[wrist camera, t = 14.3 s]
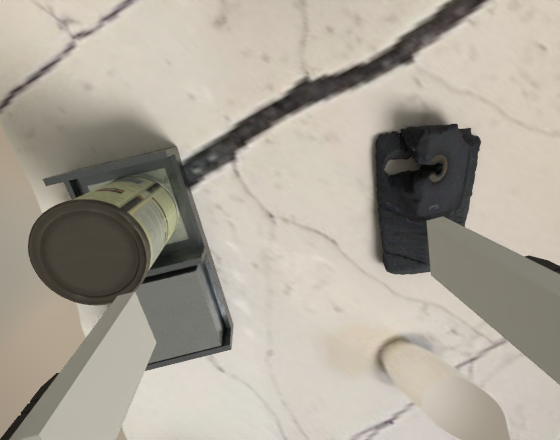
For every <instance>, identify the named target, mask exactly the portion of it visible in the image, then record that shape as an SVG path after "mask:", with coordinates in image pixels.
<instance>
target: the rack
mask: <svg viewBox="0 0 560 440" xmlns="http://www.w3.org/2000/svg"><path fill="white" fill-rule="evenodd" d="M127 175H143V176H147V177H151V178H153V179H155V180H157V181H159V182H160V183H162V184H163V185H164V186H165V187H167V189H168V190H169V191H170V192H171V193H172V195H173V196H174V198H175V200H176V202H177V205H178V209H179V221H178V226H177V228H176V230H175V232H174V234H173V235H172V236H171V237H170V239H169V240H168V242H167V243H166V245H165V246H164V248H163V249H162V251H161V253H160V254H159V255H158V257H157V259H156V260H155V262H154V263H153V265H152V266H151V268H150V269H149V271H148V273H147V275H146V277H145V279H144V281H143V283H142V284H141V285H140V287H139V288H138V289H137V290H136V291H135V292H136V295H137V297H138V300H139V302H140V304H141V307H142V309H143V312H144V314H145V316H146V319H147V321H148V324H149V326H150V328H151V331H152V333H153V336H154V338H155V340H156V345H155V348H154V350H153V352H152V355H151V357H150V359H149V362H148V364H147V367H146V369H145V371H147V370H151V369H155V368H159V367H163V366H167V365H171V364H175V363H179V362H183V361H187V360H191V359H195V358H199V357H203V356H207V355H211V354H215V353H219V352H223V351H227V350H231V347H232V335H233V322H232V319H231V316H230V313H229V309H228V306H227V303H226V300H225V297H224V294H223V291H222V287H221V284H220V281H219V278H218V275H217V272H216V269H215V265H214V262H213V259H212V256H211V253H210V250H209V247H208V243H207V240H206V237H205V234H204V231H203V228H202V225H201V221H200V218H199V215H198V212H197V209H196V206H195V203H194V200H193V196H192V193H191V190H190V187H189V184H188V181H187V178H186V174H185V171H184V168H183V165H182V162H181V159H180V156H179V152H178V149H177V146H176V147H172V148H167V149H163V150H159V151H155V152H150V153H146V154H142V155H138V156H133V157H129V158H125V159H121V160H116V161H112V162H108V163H104V164H99V165H95V166H91V167H87V168H83V169H78V170H74V171H70V172H66V173H63V174H59V175H56V176H52V177H49V178H45V179H43V181H44V183H45V185H46V186H48V185H52V184H57V183H61V182H64V183H65V185H66V188H67V190H68V192H69V194H70V197H71V199H72V200H73V199H75V198H77V197H80V196H81V195H84V194H86V193H88V192H90V191H93V190H95V189H97V188H99V187H101V186H104V185H106V184H108V183H110V182H112V181H114V180H115V179H117V178H120V177H123V176H127ZM111 304H112V303H111ZM111 304H107V306H108V308H109V307H110V305H111Z"/></svg>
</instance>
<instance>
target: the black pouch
mask: <svg viewBox="0 0 560 440" xmlns="http://www.w3.org/2000/svg"><path fill="white" fill-rule="evenodd" d="M399 135H400V137H399ZM401 135H402V136H401ZM480 144H481V140H480V138H479V137H478V136H476V137H474V136H473V135H472V134H471V128H466V129H458V125H457V124H451V125H436V126H420V127H408V128H407V129H401V133H400V134H399V133H398V132H395V131H394V132H392V133H386V134H384V135H383V134H381V135H380V136H379V138H378V140H377V141H376V150H377V151H376V161H377V188H378V190H377V194H378V198H379V199H378V203H379V213H380V219H379V220H380V226H381V229H382V231H381V236H382V244H383V250H384V254H383V262H384V265H385V269H386V271H387V272H390V273H392V274H401V275H404V274H417V273H424V272H431V270H430V257H429V245H428V233H427V220H431V219H435V218H439V217H445V218H447V219H449V220H451V221H453V222H455V223H457V224H459V225H461V226H463V227H465V221H466V218H467V214H468V211H469V205H470V197H471V196H472V188H473V184H474V179H475V171H476V167H477V159H478V152H479V147H480ZM411 157H412V158H414V159H415V162H416V163H417V164H422V165H421V167H420V170H417V171H415V172H411V171H405V172H401V173H398V174H395V175H390V176H389V175H388V174H386V173H385V171H384V168H385V166H386V164H387V162H388V161H389V160H391V159H394V160H395V159H406V160H407V159H409V158H411Z"/></svg>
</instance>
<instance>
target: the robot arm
mask: <svg viewBox="0 0 560 440" xmlns="http://www.w3.org/2000/svg"><path fill="white" fill-rule="evenodd" d="M427 233H428V245H429V257H430V270H431V276H433V277H434V278H435V279H436V280H437V281H438V282H440V283H441V284H442V285H443V286H444V287H446V288H447V289H448V290H449V291H450V292H451V293H453V294H454V295H455V296H456V297H457V298H458V299H460V300H461V301H462V302H463V303H464V304H465V305H467V306H468V307H469V308H470V309H471V310H472V311H474V312H475V313H476V314H477V315H478V316H480V317H481V318H482V319H483V320H484V321H485V322H487V323H488V324H489V325H490V326H491V327H492V328H494V329H495V330H496V331H497V332H498V333H499V334H501V335H502V336H503V337H504V338H505V339H506V340H508V341H509V342H510V343H511V344H512V345H514V346H515V347H516V348H517V349H518V350H519V351H521V352H522V353H523V354H524V355H525V356H526V357H528V358H529V359H530V360H531V361H532V362H533V363H535V364H536V365H537V366H538V367H539V368H540V369H542V370H543V371H544V372H545V373H546V374H548V375H549V376H550V377H551V378H552V379H553V380H555V381H556V382H557V383H558V384H559V385H560V266H558V265H556V264H554V263H552V262H550V261H548V260H544V259H540V258H536V257H532V256H525V257H524V256H522V255H520V254H518V253H516V252H514V251H512V250H510V249H508V248H506V247H504V246H502V245H500V244H498V243H496V242H494V241H492V240H490V239H488V238H486V237H483V236H481V235H479V234H477V233H475V232H473V231H471V230H469V229H467V228H465V227H463V226H461V225H459V224H457V223H455V222H453V221H451V220H449V219H447V218H445V217H439V218H435V219H431V220H427ZM155 345H156V340H155V338H154V336H153V333H152V331H151V328H150V326H149V324H148V321H147V319H146V316H145V314H144V312H143V309H142V307H141V304H140V302H139V300H138V297H137V295H136V292H131V293H127V294H123V295H119V296H117V297H116V299H115V300H114V301H113V303H112V304H111V305H110V307H109V308H108V309H107V311H106V312H105V313H104V315H103V316H102V317H101V319H100V320H99V321H98V323H97V324H96V325H95V327H94V328H93V329H92V331H91V332H90V333H89V335H88V336H87V337H86V338H85V340H84V341H83V343H82V344H81V345H80V346H79V348H78V349H77V350H76V352H75V353H74V355H73V356H72V357H71V358H70V360H69V361H68V362H67V364H66V365H65V366H64V368H63V369H62V370H61V372H60V373H56V374H55V375H54V376H53V377H52V378H51V379H50V380H49V381H47V382H46V383H45V384H44V385H43V386H42V387H41V388H40V389H39V391H38V392H37V393H36V394H35V395H34V397H33V398H32V399H31V401H30V403H29V404H27V406H26V407H25V408H24V410H23V411H22V412H21V415H20V416H18V417H17V418H16V420H15V421H14V422H13V423H12V425H11V426H10V427H9V429H8V430H7V431H6V432H5V434H4V435H3V436H2V437H1V439H0V440H116V438H117V435H118V433H119V431H120V428H121V426H122V424H123V421H124V419H125V417H126V414H127V412H128V409H129V407H130V405H131V402H132V400H133V398H134V395H135V393H136V390H137V388H138V386H139V383H140V381H141V378H142V376H143V374H144V371H145V369H146V367H147V364H148V362H149V359H150V357H151V355H152V352H153V350H154V348H155Z"/></svg>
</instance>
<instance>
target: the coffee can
mask: <svg viewBox="0 0 560 440" xmlns="http://www.w3.org/2000/svg"><path fill="white" fill-rule="evenodd" d="M178 221H179V209H178V205H177V202H176V200H175V198H174V196H173V195H172V193H171V192H170V191H169V190H168V189H167V187H165V186H164V185H163V184H162V183H160V182H159V181H157V180H155V179H153V178H151V177H147V176H143V175H127V176H123V177H120V178H117V179H115V180H114V181H112V182H110V183H108V184H106V185H104V186H101V187H99V188H97V189H95V190H93V191H90V192H88V193H86V194H84V195H81V196H80V197H77V198H75V199H73V200H70V201H66V202H63V203H60V204H58V205H56V206H54V207H52V208H50V209H48V210H47V211H46V212H44V213H43V214H42V215H41V216H40V217H39V218H38V219H37V221H36V222H35V223H34V225H33V227H32V229H31V232H30V235H29V243H28V253H29V257H30V261H31V264H32V266H33V268H34V270H35V272H36V273H37V275H38V276H39V278H40V279H41V280H42V281H43V282H44V283H45V285H47V286H48V287H49V288H50V289H51V290H52V291H54V292H55V293H57V294H58V295H60V296H62V297H64V298H66V299H69V300H71V301H73V302H77V303H81V304H87V305H106V304H111V303H113V301H114V300H115V299H116V297H117V296H119V295H123V294H127V293H131V292H135V291H136V290H137V289H138V288H139V287H140V285H141V284H142V283H143V281H144V279H145V277H146V275H147V273H148V271H149V269H150V268H151V266H152V265H153V263H154V262H155V260H156V259H157V257H158V255H159V254H160V253H161V251H162V249H163V248H164V246H165V245H166V243H167V242H168V240H169V239H170V237H171V236H172V235H173V234H174V232H175V230H176V228H177V226H178Z"/></svg>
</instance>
